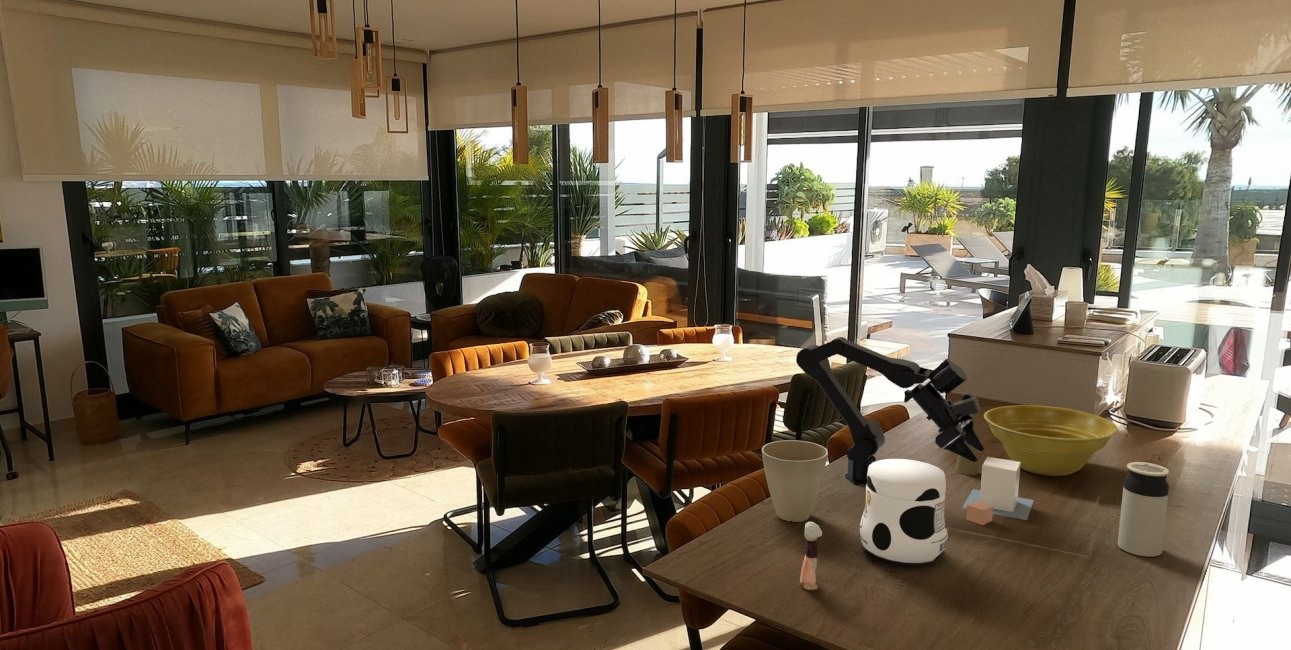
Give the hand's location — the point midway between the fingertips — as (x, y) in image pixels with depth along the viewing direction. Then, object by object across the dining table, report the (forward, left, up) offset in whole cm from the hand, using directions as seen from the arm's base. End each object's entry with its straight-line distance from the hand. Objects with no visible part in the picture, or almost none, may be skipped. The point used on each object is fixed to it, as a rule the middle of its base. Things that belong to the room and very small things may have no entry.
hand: (979, 455), depth 196 cm
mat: (+4, -3, -12) cm, 13 cm away
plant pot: (-47, -1, -12) cm, 48 cm away
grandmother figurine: (-55, -33, -12) cm, 66 cm away
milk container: (-31, -23, -12) cm, 41 cm away
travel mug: (+19, -30, -12) cm, 38 cm away
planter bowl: (+32, +19, -12) cm, 39 cm away
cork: (+9, +19, -12) cm, 24 cm away
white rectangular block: (+4, -3, -11) cm, 12 cm away
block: (-6, -11, -12) cm, 17 cm away
